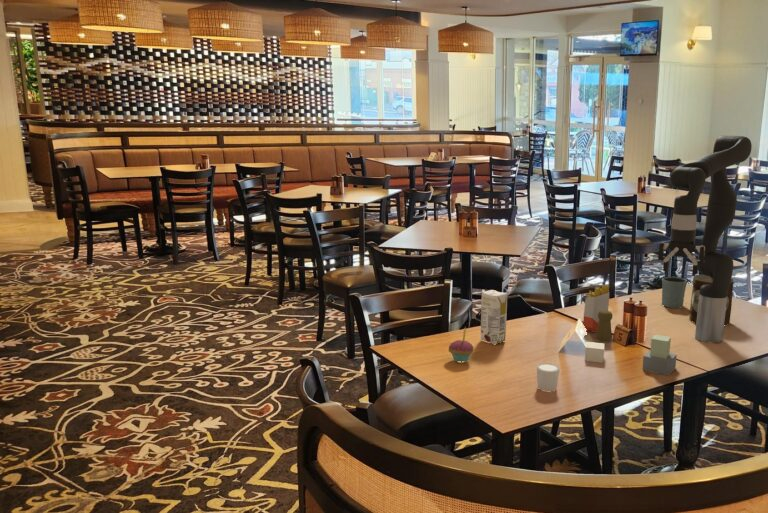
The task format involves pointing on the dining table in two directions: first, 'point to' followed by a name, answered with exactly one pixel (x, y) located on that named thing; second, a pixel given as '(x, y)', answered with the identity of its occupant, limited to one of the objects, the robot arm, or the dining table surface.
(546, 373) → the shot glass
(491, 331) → the juice carton
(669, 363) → the slate block
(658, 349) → the sage block
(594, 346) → the cream block
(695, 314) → the wooden container
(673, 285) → the green tapered bucket
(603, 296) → the french fries container
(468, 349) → the cupcake
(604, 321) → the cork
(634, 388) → the dining table surface
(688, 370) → the dining table surface
